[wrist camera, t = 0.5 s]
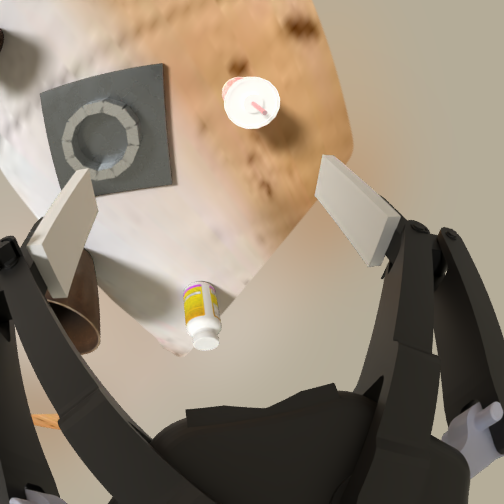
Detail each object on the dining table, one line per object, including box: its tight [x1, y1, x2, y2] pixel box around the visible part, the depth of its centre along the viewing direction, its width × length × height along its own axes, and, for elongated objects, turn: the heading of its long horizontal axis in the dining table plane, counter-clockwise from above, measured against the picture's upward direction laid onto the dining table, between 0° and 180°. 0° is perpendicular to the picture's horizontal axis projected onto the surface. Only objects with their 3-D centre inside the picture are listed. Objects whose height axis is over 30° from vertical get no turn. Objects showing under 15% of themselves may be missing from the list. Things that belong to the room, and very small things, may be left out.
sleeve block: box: [40, 63, 172, 196], centre depth 31 cm, size 18×18×4 cm
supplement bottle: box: [183, 282, 222, 351], centre depth 52 cm, size 7×7×13 cm
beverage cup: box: [222, 77, 280, 129], centre depth 28 cm, size 6×6×14 cm
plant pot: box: [45, 249, 100, 355], centre depth 39 cm, size 15×15×16 cm
